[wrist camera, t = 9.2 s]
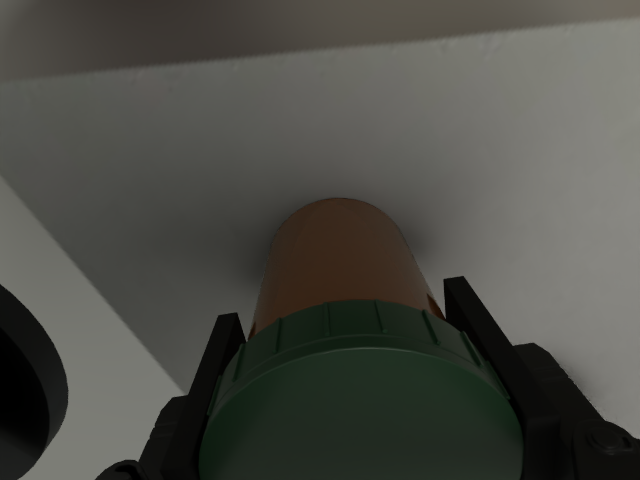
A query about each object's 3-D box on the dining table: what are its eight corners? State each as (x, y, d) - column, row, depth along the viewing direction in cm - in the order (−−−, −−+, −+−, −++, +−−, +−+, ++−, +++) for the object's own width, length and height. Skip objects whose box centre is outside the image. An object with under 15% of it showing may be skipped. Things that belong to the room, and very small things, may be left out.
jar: (239, 257, 20) (170, 433, 11) (348, 167, 19) (385, 280, 9) (329, 343, 23) (339, 552, 13) (434, 270, 21) (539, 450, 11)
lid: (544, 428, 12) (583, 489, 10) (332, 536, 14) (335, 603, 12) (386, 236, 9) (403, 275, 8) (154, 403, 11) (125, 465, 10)
